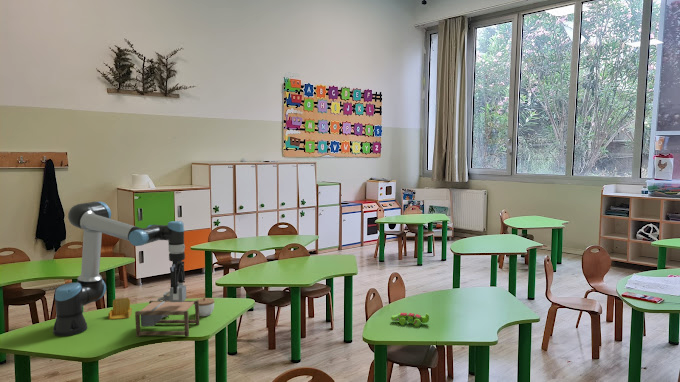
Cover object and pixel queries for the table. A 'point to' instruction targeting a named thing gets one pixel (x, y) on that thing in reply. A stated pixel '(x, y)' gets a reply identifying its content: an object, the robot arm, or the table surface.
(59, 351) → the table surface
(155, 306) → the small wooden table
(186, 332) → the stand
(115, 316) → the yellow toy armchair
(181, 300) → the slate block
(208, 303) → the lidded jar
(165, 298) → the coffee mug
